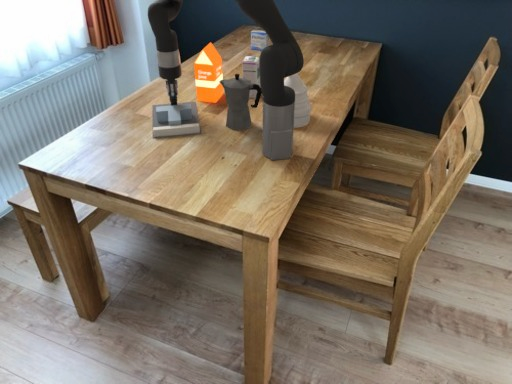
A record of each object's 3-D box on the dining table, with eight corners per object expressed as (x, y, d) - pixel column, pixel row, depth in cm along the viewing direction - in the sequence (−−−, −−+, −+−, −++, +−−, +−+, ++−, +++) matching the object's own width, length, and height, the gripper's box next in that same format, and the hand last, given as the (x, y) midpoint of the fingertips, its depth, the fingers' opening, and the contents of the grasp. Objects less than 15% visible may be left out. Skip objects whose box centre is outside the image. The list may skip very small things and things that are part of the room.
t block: (157, 117, 155) (156, 106, 153) (191, 114, 157) (190, 103, 154) (157, 133, 145) (156, 122, 143) (194, 129, 147) (192, 119, 145)
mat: (201, 134, 145) (201, 133, 145) (152, 139, 142) (152, 138, 142) (195, 102, 166) (195, 101, 165) (152, 105, 163) (152, 105, 163)
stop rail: (199, 132, 146) (199, 125, 144) (154, 136, 143) (153, 130, 142) (199, 129, 147) (198, 123, 146) (154, 134, 145) (153, 127, 143)
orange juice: (223, 94, 171) (221, 42, 160) (216, 103, 165) (212, 50, 153) (205, 92, 173) (201, 41, 161) (196, 101, 166) (192, 48, 155)
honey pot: (279, 130, 147) (281, 78, 137) (268, 113, 157) (269, 64, 147) (315, 125, 150) (319, 74, 140) (302, 109, 160) (305, 61, 150)
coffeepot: (215, 126, 149) (211, 75, 139) (227, 115, 156) (225, 66, 146) (256, 135, 144) (256, 83, 134) (267, 123, 151) (268, 73, 140)
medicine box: (250, 49, 215) (250, 31, 210) (253, 47, 218) (253, 29, 213) (266, 51, 213) (266, 33, 208) (268, 48, 216) (268, 30, 211)
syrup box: (257, 98, 168) (257, 61, 159) (242, 97, 169) (241, 60, 160) (260, 92, 172) (260, 56, 164) (245, 91, 173) (245, 55, 165)
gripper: (181, 69, 142) (186, 117, 152) (179, 55, 152) (184, 101, 163) (158, 70, 141) (164, 119, 151) (157, 56, 151) (163, 102, 162)
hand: (174, 109), depth 157 cm, fingers closed
